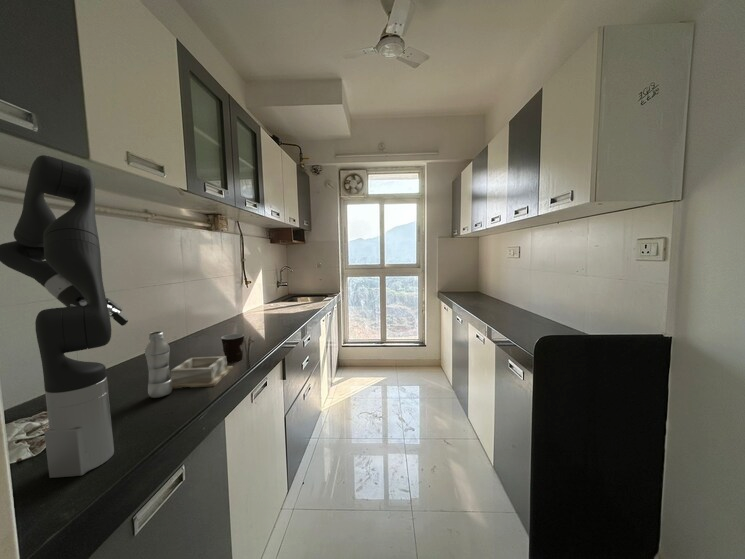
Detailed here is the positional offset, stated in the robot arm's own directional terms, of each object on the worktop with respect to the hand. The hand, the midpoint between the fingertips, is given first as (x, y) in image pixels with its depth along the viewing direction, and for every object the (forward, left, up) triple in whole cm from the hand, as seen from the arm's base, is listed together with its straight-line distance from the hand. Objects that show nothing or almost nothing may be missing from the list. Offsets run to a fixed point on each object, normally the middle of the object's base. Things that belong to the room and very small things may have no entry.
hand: (115, 326), depth 92 cm
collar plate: (+13, -18, -22) cm, 31 cm away
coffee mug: (+30, -22, -23) cm, 43 cm away
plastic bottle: (0, -12, -23) cm, 25 cm away
